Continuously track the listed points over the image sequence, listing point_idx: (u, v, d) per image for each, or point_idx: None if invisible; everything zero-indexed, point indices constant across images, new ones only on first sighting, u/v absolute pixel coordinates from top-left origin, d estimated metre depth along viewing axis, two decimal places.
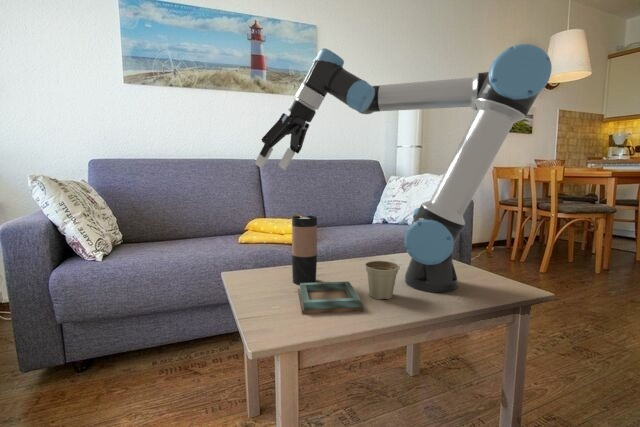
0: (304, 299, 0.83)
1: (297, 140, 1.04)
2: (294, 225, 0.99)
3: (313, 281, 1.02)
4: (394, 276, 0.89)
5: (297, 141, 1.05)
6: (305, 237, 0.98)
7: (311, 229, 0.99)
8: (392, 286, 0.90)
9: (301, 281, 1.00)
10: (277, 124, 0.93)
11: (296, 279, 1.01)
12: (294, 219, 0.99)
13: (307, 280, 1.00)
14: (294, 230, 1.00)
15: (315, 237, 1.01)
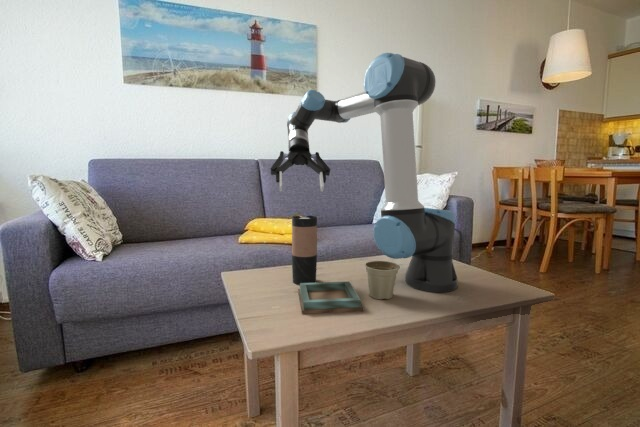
0: (304, 299, 0.83)
1: (313, 163, 1.17)
2: (294, 225, 0.99)
3: (313, 281, 1.02)
4: (394, 276, 0.89)
5: (314, 164, 1.16)
6: (305, 237, 0.98)
7: (311, 229, 0.99)
8: (392, 286, 0.90)
9: (301, 281, 1.00)
10: None
11: (296, 279, 1.01)
12: (294, 219, 0.99)
13: (307, 280, 1.00)
14: (294, 230, 1.00)
15: (315, 237, 1.01)
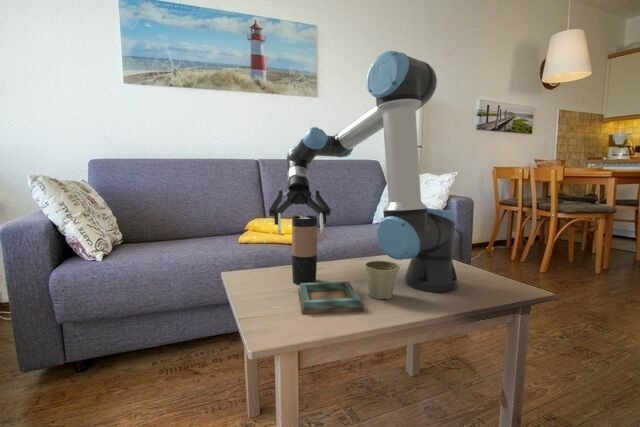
0: (304, 299, 0.83)
1: (313, 203, 1.13)
2: (294, 225, 0.99)
3: (313, 281, 1.02)
4: (394, 276, 0.89)
5: (314, 204, 1.13)
6: (305, 237, 0.98)
7: (311, 229, 0.99)
8: (392, 286, 0.90)
9: (301, 281, 1.00)
10: None
11: (296, 279, 1.01)
12: (294, 219, 0.99)
13: (307, 280, 1.00)
14: (294, 230, 1.00)
15: (315, 237, 1.01)
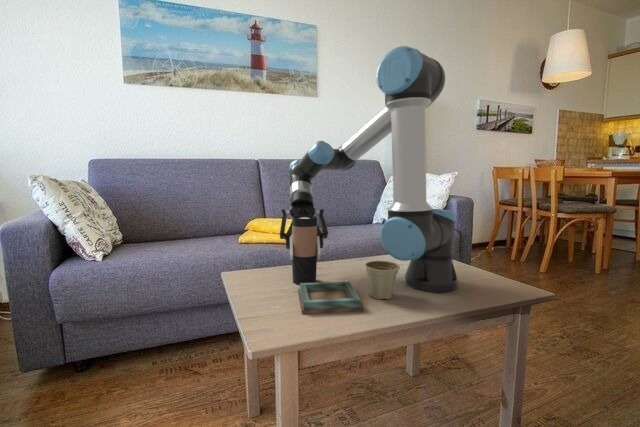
0: (304, 299, 0.83)
1: None
2: (294, 225, 0.99)
3: (313, 281, 1.02)
4: (394, 276, 0.89)
5: None
6: (305, 237, 0.98)
7: (311, 229, 0.99)
8: (392, 286, 0.90)
9: (301, 281, 1.00)
10: None
11: (296, 279, 1.01)
12: (294, 219, 0.99)
13: (307, 280, 1.00)
14: (294, 230, 0.99)
15: (315, 237, 1.01)
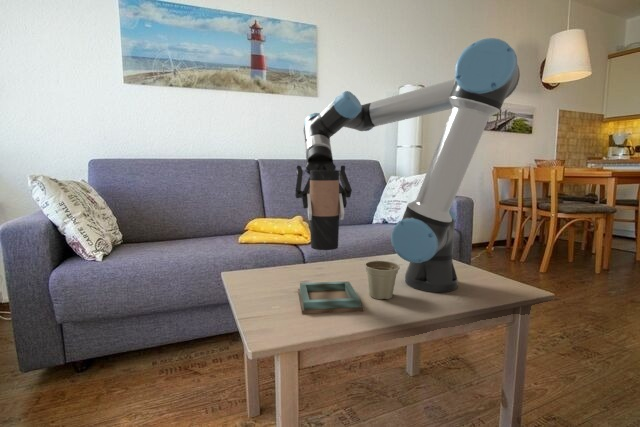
0: (304, 299, 0.83)
1: None
2: (313, 179, 0.84)
3: (335, 246, 0.87)
4: (394, 276, 0.89)
5: None
6: (326, 192, 0.83)
7: (333, 183, 0.84)
8: (392, 286, 0.90)
9: (321, 245, 0.85)
10: None
11: (315, 243, 0.86)
12: (312, 172, 0.84)
13: (328, 244, 0.85)
14: (313, 185, 0.85)
15: (337, 193, 0.85)
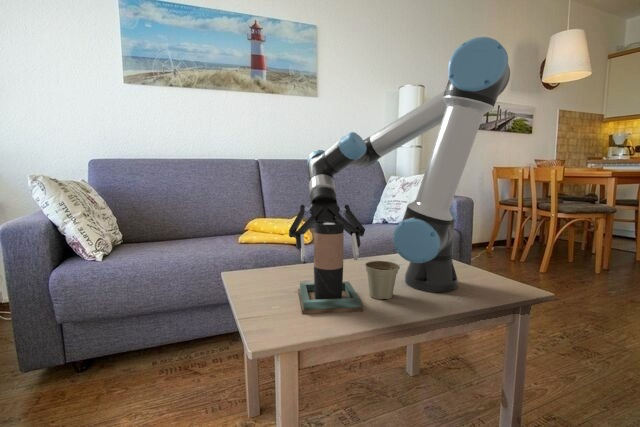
0: (304, 299, 0.83)
1: (343, 221, 0.91)
2: (317, 232, 0.84)
3: (339, 297, 0.87)
4: (394, 276, 0.89)
5: (345, 222, 0.91)
6: (330, 246, 0.83)
7: (338, 236, 0.84)
8: (392, 286, 0.90)
9: (325, 298, 0.85)
10: None
11: (319, 295, 0.86)
12: (317, 225, 0.84)
13: (332, 297, 0.85)
14: (317, 238, 0.84)
15: (342, 246, 0.85)
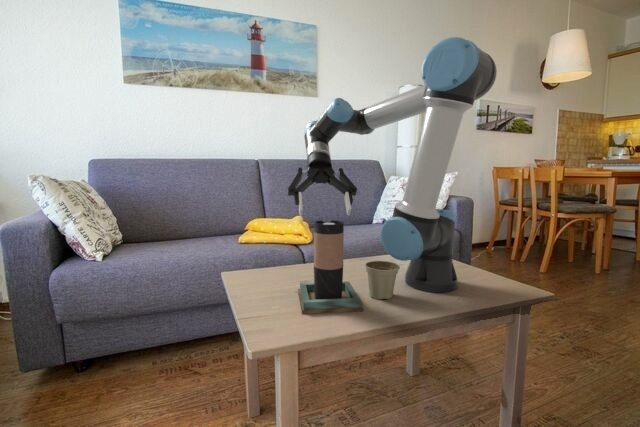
0: (304, 299, 0.83)
1: (337, 182, 1.00)
2: (317, 232, 0.84)
3: (339, 297, 0.87)
4: (394, 276, 0.89)
5: (339, 182, 1.00)
6: (330, 246, 0.83)
7: (338, 236, 0.84)
8: (392, 286, 0.90)
9: (325, 298, 0.85)
10: None
11: (319, 295, 0.86)
12: (317, 225, 0.84)
13: (332, 297, 0.85)
14: (317, 238, 0.84)
15: (342, 246, 0.85)
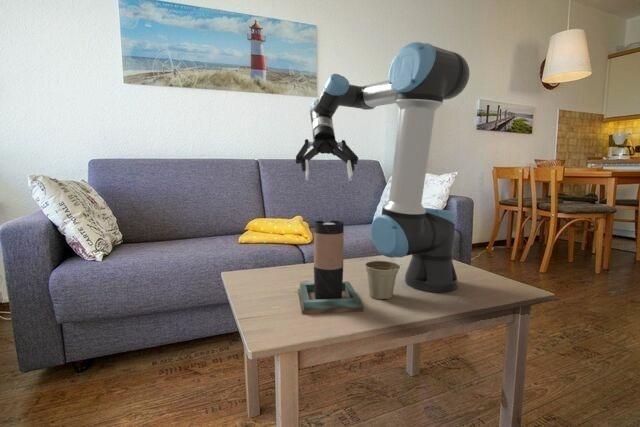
0: (304, 299, 0.83)
1: (340, 151, 1.11)
2: (317, 232, 0.84)
3: (339, 297, 0.87)
4: (394, 276, 0.89)
5: (341, 152, 1.10)
6: (330, 246, 0.83)
7: (338, 236, 0.84)
8: (392, 286, 0.90)
9: (325, 298, 0.85)
10: None
11: (319, 295, 0.86)
12: (317, 225, 0.84)
13: (332, 297, 0.85)
14: (317, 238, 0.84)
15: (342, 246, 0.85)
